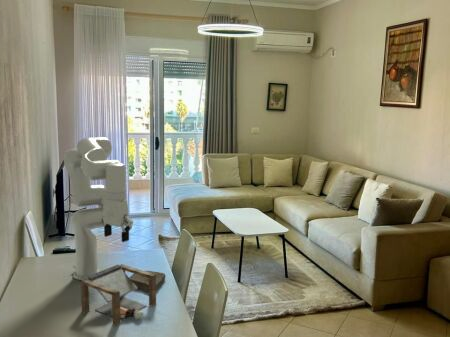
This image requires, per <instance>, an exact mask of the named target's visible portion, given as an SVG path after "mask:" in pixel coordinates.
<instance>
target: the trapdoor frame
mask: <svg viewBox="0 0 450 337" xmlns="http://www.w3.org/2000/svg"><path fill="white" fill-rule="evenodd" d="M118 265H119V266H120V269H118V270H116V271H119V270H121V269H122V270H123V271H124V272H125V273H126V272H127V273H132V274H134V273H135V274H138V275H141V276H144V277H147V278H149V293H148V305H149V306H150V307H151V306H152V307H155V306H156V305H157V291H156V275H155V274H152V273H149V272H146V271H147V270H141V269H138V268H135V267H131V266H129V265H125V264H118ZM116 271H113V272H111V273H108V274H106V275H103V276H101V277H98V278H96V279H93V280H91V281H89V280H86V279H83V280H80V297H81V298H80V300H81V301H80V302H81V312H82V313H85V314H86V313H88V312H90V293H89V292H90V289H89V288H91V289H93V290H94V289H95V290H97V291H98V290H100V291H102V292H105V293H108V294H110V295H112V301H111V302H109V303H106V304H104V305H102V306H100V307H98V308H96V309H94V311H95V312H98V313H101V314H103V315H106V316H108V317H111V318H112V325H113V326H116V327H118V326H119V325H121V320H124V319H125V318H120V316H121V315H120V307H122V308H125V309H130V308H132V309H135V310H138V311H142V310H143V309H145V308H146V307H147V304H144V303H140V302H137V301H135V300H132V299H129V298H128V297H124V296H122V297H120V291H117V290H115V289H112V288H109V287H106V286H103V285H101V284H98V283H95V282H92V281H94V280H97V279H99V278H102V277H104V276H107V275H109V274H112V273H114V272H116ZM111 309H112V313H111Z"/></svg>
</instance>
